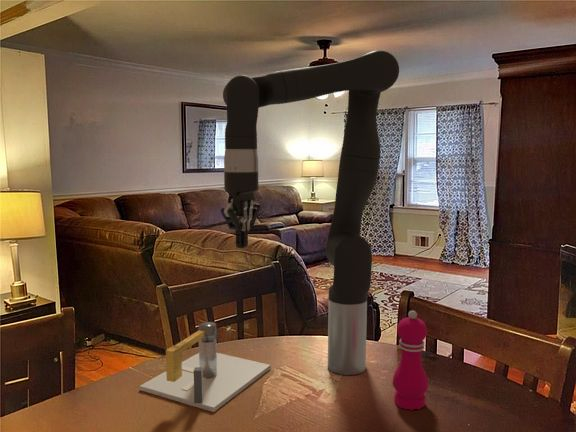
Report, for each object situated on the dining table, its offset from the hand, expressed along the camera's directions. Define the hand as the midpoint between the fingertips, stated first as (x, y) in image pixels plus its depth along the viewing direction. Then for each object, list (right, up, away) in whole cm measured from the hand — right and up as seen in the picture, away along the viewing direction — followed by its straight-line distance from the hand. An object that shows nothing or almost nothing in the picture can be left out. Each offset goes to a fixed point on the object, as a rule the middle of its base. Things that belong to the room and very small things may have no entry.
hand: (242, 247), depth 111 cm
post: (-8, -31, +4) cm, 32 cm away
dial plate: (-8, -31, +4) cm, 32 cm away
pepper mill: (+36, -32, -7) cm, 49 cm away
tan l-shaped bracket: (-10, -26, -3) cm, 28 cm away
